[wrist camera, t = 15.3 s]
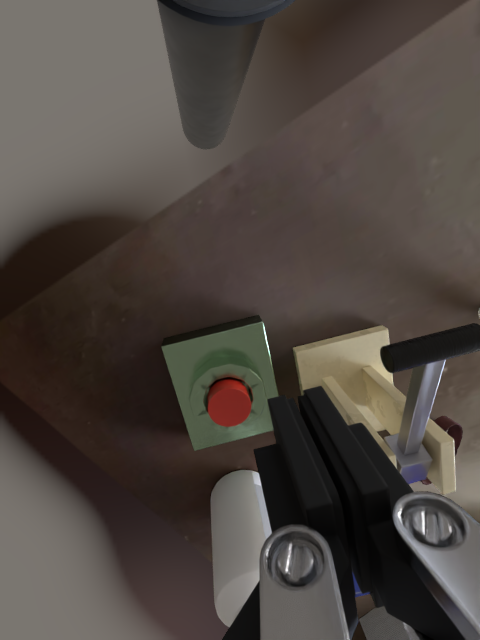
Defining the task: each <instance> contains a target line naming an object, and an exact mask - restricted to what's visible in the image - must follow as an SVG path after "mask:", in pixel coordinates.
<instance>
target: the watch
mask: <svg viewBox="0 0 480 640" xmlns="http://www.w3.org/2000/svg"><path fill="white" fill-rule="evenodd" d="M434 422H435V423H436V424H437V425H438V426H439V427H440V428H441V429H443V430H444V431H445V432H446V431H447V430H448V433H447V434H448V435H449V436H450V437H452V438H453V439H454V454H455V455H456V453H457V449H458V447H459V445H460V442H461V439H462V433H463V431H462V427H461V425H460V424H458V423H456V422H455V421H453V420H451V419H450V418H448V417H447V416H441V417H439V418H437V419H436V420H435V421H434ZM421 482H422V483H423V484H425V485H428V484H431V483H432V482H431V481H430V480H429V479H428V477H426V479H425V480H421Z"/></svg>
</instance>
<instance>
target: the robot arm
mask: <svg viewBox="0 0 480 640" xmlns="http://www.w3.org/2000/svg"><path fill="white" fill-rule="evenodd" d="M267 402H268V407H269V411H270V416H271V420H272V425H273V429H274V434H275V439H276V443H277V444H273V445H270V446H266V447H262V448H258V449H254V454H255V458H256V463H257V467H258V472H259V477H260V481H261V486H262V490H263V495H264V499H265V504H266V508H267V513H268V518H269V522H270V527H271V531H272V534H271V535H270V536H269V537H268V538H267V539H266V540H265V542H264V544H263V547H262V549H261V552H260V559H259V576H260V580H259V582H258V583H257V585H256V586H255V588H254V590H253V591H252V593H251V594H250V596H249V597H248V599H247V601H246V602H245V604H244V605H243V607H242V609H241V610H240V612H239V613H238V615H237V617H236V618H235V620H234V621H233V623H232V624H231V626H230V628H229V629H228V631H227V632H226V634H225V636H224V637H223V639H222V640H351V639H352V637H353V634H354V631H355V629H356V626H357V624H358V614H357V608H356V601H355V596H356V593H355V586H354V579H353V574H354V577H355V579H356V582H357V584H358V586H359V589H360V591H361V593H362V594H364V593H368V592H370V594H371V596H372V599H373V601H374V603H375V606H376V608H379V607H383V606H384V607H385V609H386V611H387V613H388V614H390V615H392V616H393V617H395V618H397V619H398V620H400V621H402V622H403V625H404V627H405V629H406V631H407V634H408V636H409V637H410V639H411V640H480V524H479V523H478V522H477V521H476V520H475V519H473V518H472V517H471V516H470V515H469V514H468V513H467V512H466V511H465V510H464V509H463V508H462V507H460V506H459V505H458V504H456V503H455V502H454V501H452V500H451V499H449V498H446V497H444V496H442V495H440V494H436V493H431V492H414V491H413V490H412V489H411V487H410V486H409V485H408V483H407V482H406V481H405V479H404V478H403V477H402V475H401V474H400V472H399V471H398V470H397V468H396V467H395V466H394V464H393V463H392V462H391V460H390V459H389V458H388V456H387V455H386V454H385V452H384V451H383V449H382V448H381V447H380V445H379V444H378V443H377V441H376V440H375V439H374V437H373V436H372V435H371V433H370V432H369V430H368V429H367V428H366V426H365V425H364V424H363V423H361V422H360V423H356V424H352V425H347V423H346V422H345V420H344V419H343V417H342V416H341V414H340V413H339V411H338V410H337V408H336V407H335V405H334V404H333V402H332V401H331V399H330V398H329V396H328V395H327V393H326V392H325V390H324V389H323V387H322V386H318V387H314V388H310V389H306V390H303V395H302V396H298V403H299V408H300V412H299V409H298V407H297V405H296V403H295V401H294V399H293V398H290V399H287V398H286V396H285V395H282V396H278V397H274V398H270V399H267ZM352 572H353V573H352Z"/></svg>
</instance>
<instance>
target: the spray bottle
mask: <svg viewBox="0 0 480 640" xmlns="http://www.w3.org/2000/svg"><path fill="white" fill-rule="evenodd" d="M210 503H211V529H212V556H213V580H214V604H215V607H216V611H217V615H218V617H219V618H220V620H221V621H222V622H223V623H224V624H225V625H226V626H228V627H230V626H231V624H232V623H233V621H234V620H235V618H236V617H237V615H238V613H239V612H240V610H241V609H242V607H243V605H244V604H245V602H246V601H247V599H248V597H249V596H250V594H251V593H252V591H253V590H254V588H255V586H256V585H257V583H258V582H259V580H260V576H259V559H260V552H261V549H262V547H263V544H264V542H265V540H266V539H267V538H268V537H269V536H270V535H271V534H272V531H271V527H270V522H269V518H268V513H267V508H266V504H265V499H264V495H263V490H262V486H261V481H260V477H259V473H258V472H255V471H252V470H239V471H234V472H231V473H229V474H227V475H225V476H223V477H222V478H221V479H220V480H219V481H218V482H217V483H216V485H215V487H214V489H213V490H212V493H211V499H210Z"/></svg>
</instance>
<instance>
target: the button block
mask: <svg viewBox="0 0 480 640" xmlns="http://www.w3.org/2000/svg"><path fill="white" fill-rule="evenodd" d="M161 348H162V351H163V354H164V358H165V361H166V364H167V367H168V370H169V373H170V377H171V380H172V383H173V386H174V389H175V392H176V395H177V399H178V402H179V405H180V408H181V411H182V414H183V418H184V421H185V424H186V427H187V430H188V433H189V436H190V440H191V443H192V446H193V449H194V451H196V450H200V449H203V448H207V447H211V446H215V445H219V444H223V443H226V442H230V441H234V440H238V439H242V438H246V437H249V436H253V435H257V434H261V433H265V432H269V431H273V430H274V429H273V425H272V420H271V416H270V411H269V407H268V402H267V399H270V398H274V397H278V396H279V395H278V390H277V385H276V381H275V376H274V371H273V366H272V362H271V357H270V352H269V348H268V343H267V338H266V333H265V329H264V324H263V321H262V319H261V318H260V316H259V315H256V316H252V317H248V318H244V319H240V320H235V321H231V322H227V323H223V324H219V325H215V326H211V327H207V328H203V329H199V330H195V331H191V332H187V333H183V334H179V335H175V336H171V337H167V338H164V339H163V343H162V346H161ZM224 379H234V380H237V381H240V382H241V383H242V384H244V385H245V387H246V388H247V390H248V393H249V397H250V401H251V411H250V414H249V416H248V417H247V419H246V420H245V421H243V422H242V423H241V424H239V425H236V426H232V427H225V426H221V425H218V424H217V423H215V422H214V421H213V420H212V419H211V418H210V416H209V414H208V404H207V396H208V392H209V390H210V388H211V387H212V386H213V385H214V384H215V383H217V382H218V381H220V380H224Z"/></svg>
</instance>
